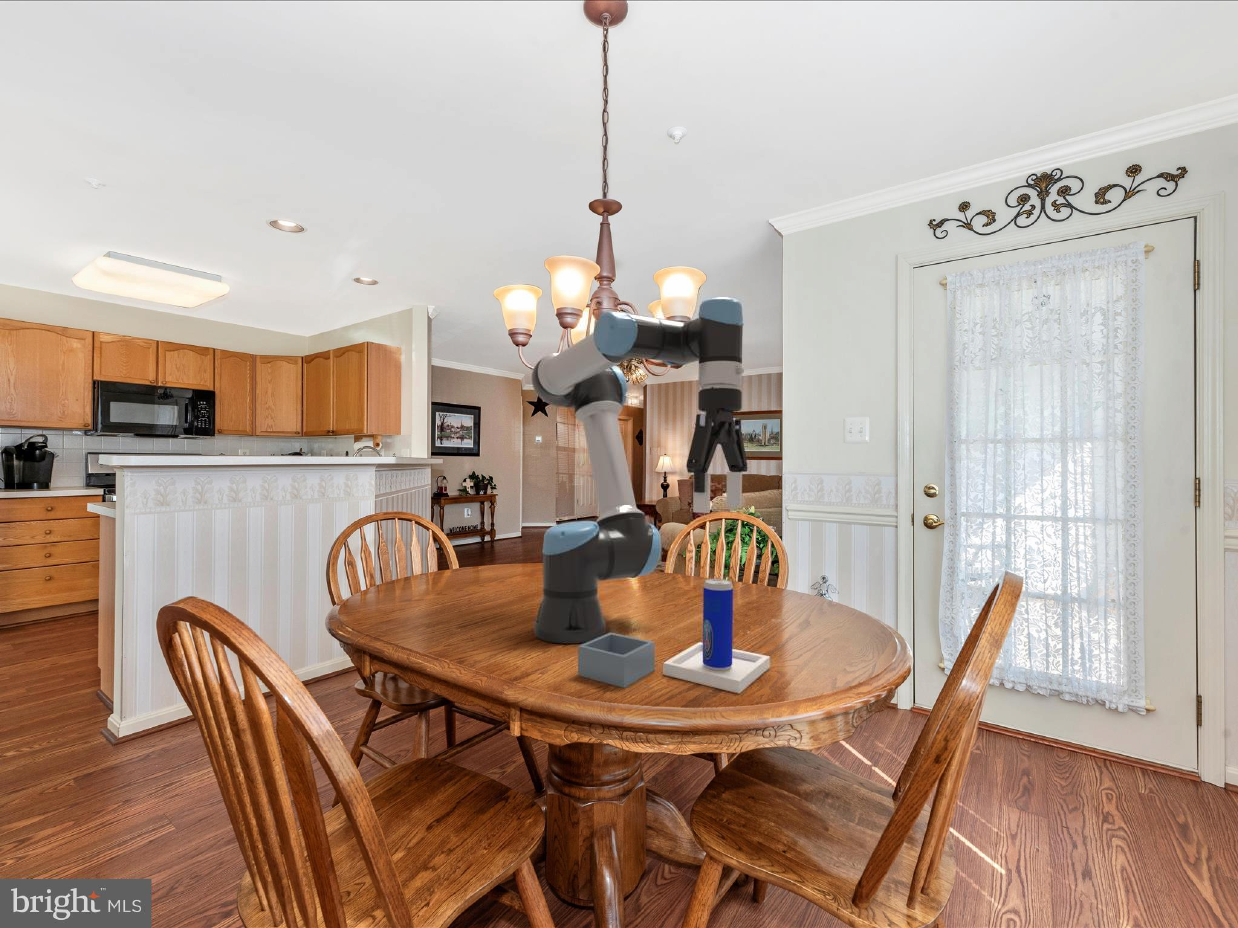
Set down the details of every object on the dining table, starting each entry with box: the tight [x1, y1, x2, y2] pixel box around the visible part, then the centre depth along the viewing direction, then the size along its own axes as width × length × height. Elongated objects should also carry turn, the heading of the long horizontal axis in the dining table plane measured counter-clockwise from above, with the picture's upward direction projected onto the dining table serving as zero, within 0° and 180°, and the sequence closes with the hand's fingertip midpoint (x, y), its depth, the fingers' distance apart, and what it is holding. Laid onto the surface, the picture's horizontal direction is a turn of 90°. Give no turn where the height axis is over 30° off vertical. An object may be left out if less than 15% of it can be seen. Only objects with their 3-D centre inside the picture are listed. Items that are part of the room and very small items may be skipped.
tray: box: [662, 641, 771, 695], centre depth 101 cm, size 14×14×2 cm
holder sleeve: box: [577, 632, 656, 689], centre depth 100 cm, size 10×10×5 cm
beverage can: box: [702, 578, 734, 671], centre depth 101 cm, size 5×5×15 cm
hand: (718, 509), depth 101 cm, fingers open, 13 cm apart
